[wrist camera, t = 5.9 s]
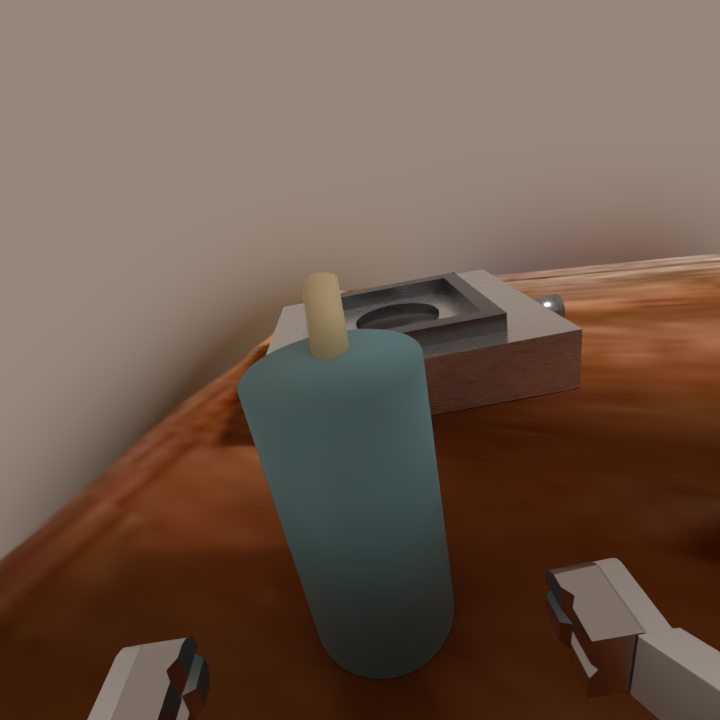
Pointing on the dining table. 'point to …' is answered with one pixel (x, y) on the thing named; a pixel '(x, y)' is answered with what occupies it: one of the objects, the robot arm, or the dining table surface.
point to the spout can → (356, 485)
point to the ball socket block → (466, 336)
